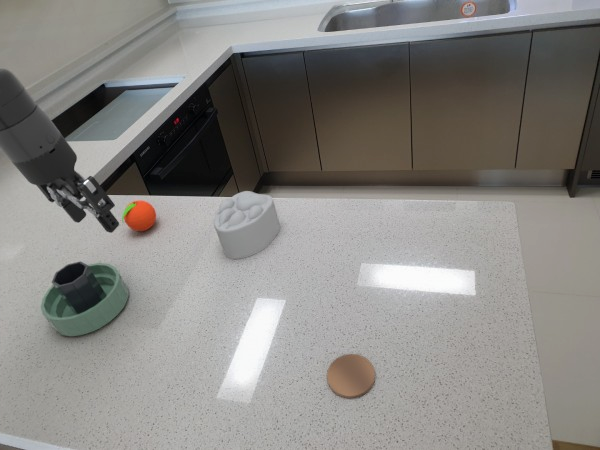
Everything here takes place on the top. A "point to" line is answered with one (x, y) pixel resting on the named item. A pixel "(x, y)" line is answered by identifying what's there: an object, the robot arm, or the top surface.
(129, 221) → the clementine
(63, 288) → the cup
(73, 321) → the bowl
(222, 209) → the lumpy-topped squat cylinder
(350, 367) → the coaster
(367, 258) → the top surface
